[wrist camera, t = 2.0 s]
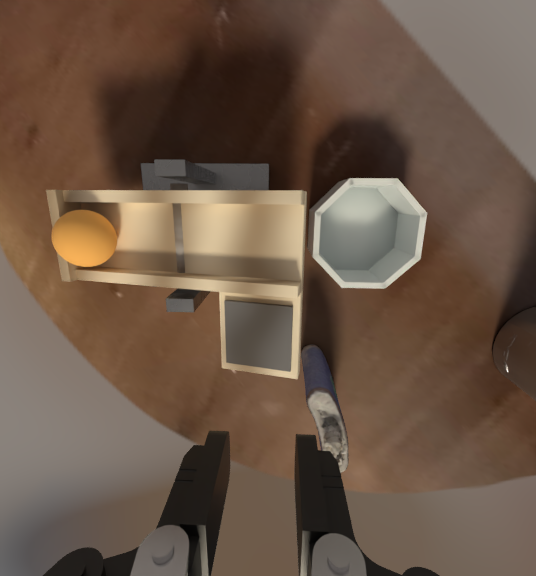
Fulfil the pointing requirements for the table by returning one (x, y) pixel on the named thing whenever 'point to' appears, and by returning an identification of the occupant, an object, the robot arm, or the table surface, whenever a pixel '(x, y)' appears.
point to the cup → (366, 232)
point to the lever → (210, 259)
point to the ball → (84, 238)
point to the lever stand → (201, 179)
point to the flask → (324, 404)
